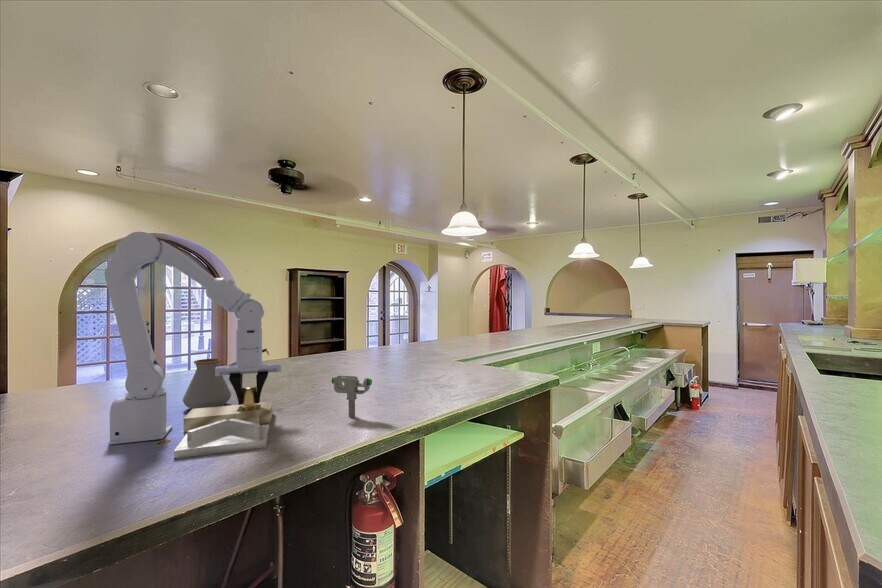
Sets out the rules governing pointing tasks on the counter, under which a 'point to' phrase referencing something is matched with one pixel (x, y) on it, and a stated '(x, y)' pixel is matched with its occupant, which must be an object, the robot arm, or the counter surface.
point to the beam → (227, 415)
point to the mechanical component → (350, 389)
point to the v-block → (222, 438)
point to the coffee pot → (207, 386)
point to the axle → (249, 398)
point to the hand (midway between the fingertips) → (249, 403)
